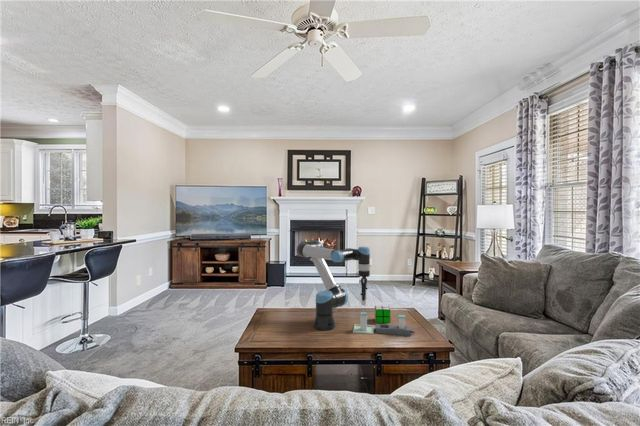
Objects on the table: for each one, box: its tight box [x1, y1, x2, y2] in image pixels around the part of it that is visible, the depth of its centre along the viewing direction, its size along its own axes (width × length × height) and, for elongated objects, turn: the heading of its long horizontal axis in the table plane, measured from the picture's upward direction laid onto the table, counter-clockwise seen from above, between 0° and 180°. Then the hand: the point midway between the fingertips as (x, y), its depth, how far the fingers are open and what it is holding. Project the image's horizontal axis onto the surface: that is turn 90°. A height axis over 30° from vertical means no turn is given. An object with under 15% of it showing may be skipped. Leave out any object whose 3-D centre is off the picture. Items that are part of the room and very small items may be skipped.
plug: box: [359, 311, 368, 331], centre depth 199 cm, size 4×4×11 cm
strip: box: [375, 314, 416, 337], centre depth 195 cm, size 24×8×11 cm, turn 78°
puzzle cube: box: [374, 304, 391, 324], centre depth 216 cm, size 10×10×10 cm
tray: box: [352, 323, 375, 335], centre depth 199 cm, size 13×13×1 cm
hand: (364, 302), depth 200 cm, fingers open, 13 cm apart
